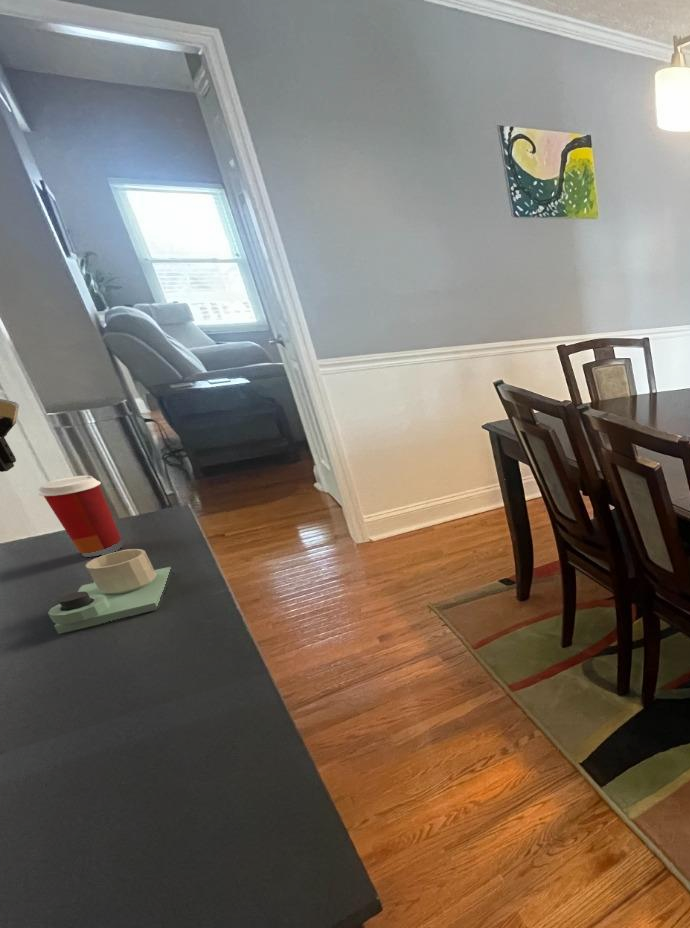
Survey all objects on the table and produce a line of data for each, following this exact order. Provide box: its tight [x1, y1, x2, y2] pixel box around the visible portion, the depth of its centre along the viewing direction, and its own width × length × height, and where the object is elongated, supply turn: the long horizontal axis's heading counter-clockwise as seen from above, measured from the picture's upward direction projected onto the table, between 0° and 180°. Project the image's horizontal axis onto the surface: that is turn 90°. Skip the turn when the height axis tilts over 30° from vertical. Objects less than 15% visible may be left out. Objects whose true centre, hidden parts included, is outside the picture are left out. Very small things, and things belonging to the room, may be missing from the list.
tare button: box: [58, 591, 92, 611], centre depth 88 cm, size 3×3×2 cm
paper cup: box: [38, 475, 122, 554], centre depth 110 cm, size 8×8×14 cm
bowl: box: [84, 548, 156, 594], centre depth 96 cm, size 7×7×5 cm
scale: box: [47, 566, 172, 635], centre depth 94 cm, size 12×16×3 cm
